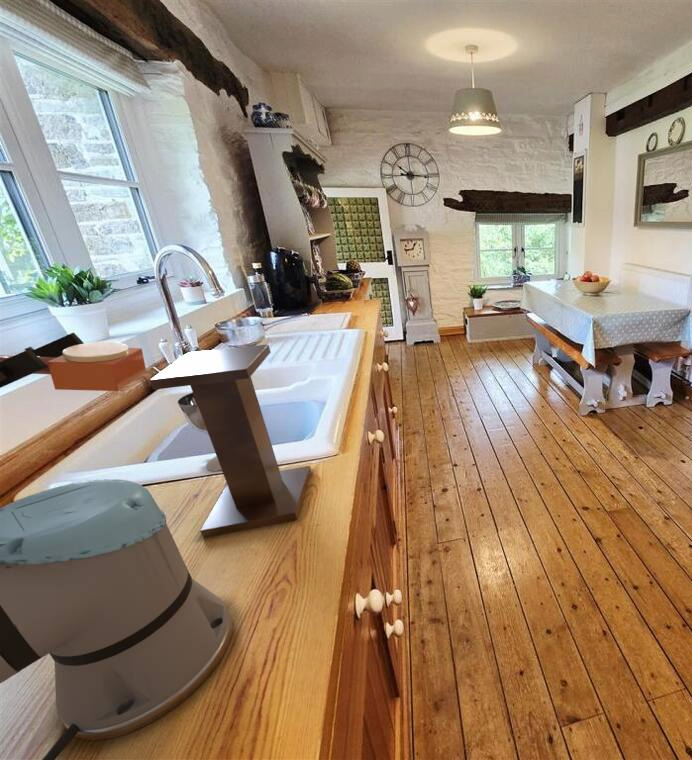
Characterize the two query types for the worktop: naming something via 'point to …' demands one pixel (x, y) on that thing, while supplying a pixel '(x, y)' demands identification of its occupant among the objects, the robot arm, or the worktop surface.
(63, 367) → the reddish brown long piece
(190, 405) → the wine glass
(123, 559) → the robot arm
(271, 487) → the stand
